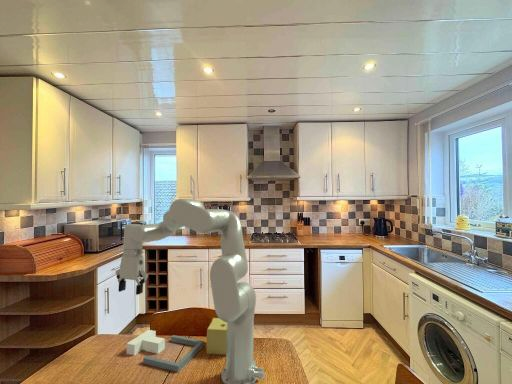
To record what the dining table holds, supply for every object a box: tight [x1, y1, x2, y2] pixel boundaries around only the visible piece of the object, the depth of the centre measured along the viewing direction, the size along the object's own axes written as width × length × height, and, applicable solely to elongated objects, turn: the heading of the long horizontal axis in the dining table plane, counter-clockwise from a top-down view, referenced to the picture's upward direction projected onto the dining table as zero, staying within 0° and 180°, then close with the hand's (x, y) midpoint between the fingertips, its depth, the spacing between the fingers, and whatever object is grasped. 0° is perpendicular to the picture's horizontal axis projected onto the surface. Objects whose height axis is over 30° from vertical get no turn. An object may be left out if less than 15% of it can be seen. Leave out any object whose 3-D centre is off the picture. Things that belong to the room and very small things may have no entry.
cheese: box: [206, 317, 227, 356], centre depth 104 cm, size 10×11×10 cm
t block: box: [126, 329, 166, 356], centre depth 103 cm, size 12×12×4 cm
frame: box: [142, 334, 205, 373], centre depth 99 cm, size 16×18×2 cm
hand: (130, 292), depth 108 cm, fingers open, 9 cm apart
